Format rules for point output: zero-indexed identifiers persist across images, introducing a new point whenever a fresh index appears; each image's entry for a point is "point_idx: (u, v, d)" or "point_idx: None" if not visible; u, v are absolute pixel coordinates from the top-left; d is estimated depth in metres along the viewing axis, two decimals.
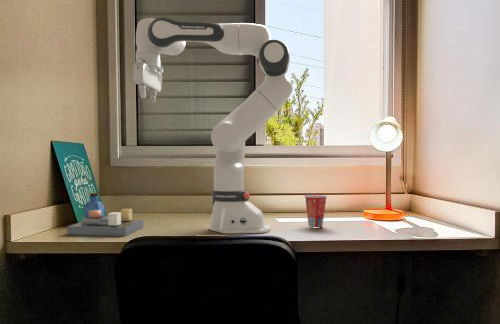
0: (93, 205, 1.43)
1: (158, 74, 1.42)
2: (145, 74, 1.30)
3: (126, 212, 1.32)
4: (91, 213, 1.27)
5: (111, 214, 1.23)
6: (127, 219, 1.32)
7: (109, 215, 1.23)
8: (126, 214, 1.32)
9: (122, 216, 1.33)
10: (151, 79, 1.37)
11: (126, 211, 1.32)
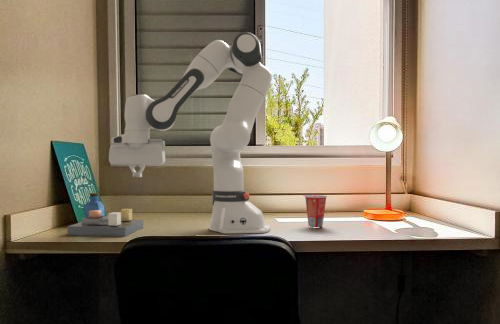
0: (92, 205, 1.43)
1: None
2: None
3: (126, 212, 1.32)
4: (91, 213, 1.27)
5: (111, 214, 1.23)
6: (127, 219, 1.32)
7: (109, 215, 1.23)
8: (126, 214, 1.32)
9: (122, 216, 1.33)
10: None
11: (126, 211, 1.32)
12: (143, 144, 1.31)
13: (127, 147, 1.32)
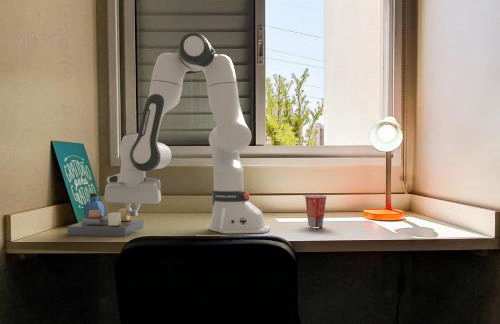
0: (93, 205, 1.43)
1: None
2: None
3: (123, 212, 1.33)
4: (91, 213, 1.27)
5: (111, 214, 1.23)
6: (125, 219, 1.32)
7: (109, 215, 1.23)
8: (124, 214, 1.32)
9: None
10: None
11: (124, 211, 1.32)
12: (139, 183, 1.32)
13: (123, 186, 1.32)
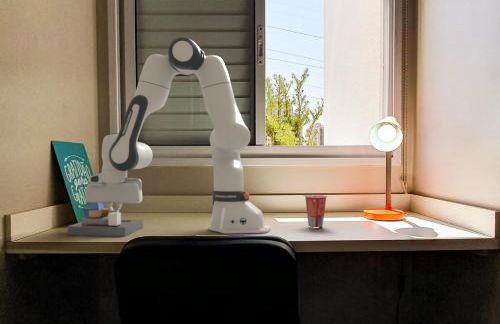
0: (93, 205, 1.43)
1: None
2: None
3: (105, 211, 1.33)
4: (91, 213, 1.27)
5: (111, 214, 1.23)
6: None
7: (109, 215, 1.23)
8: (106, 214, 1.33)
9: None
10: None
11: (105, 211, 1.33)
12: (120, 183, 1.32)
13: (104, 186, 1.33)
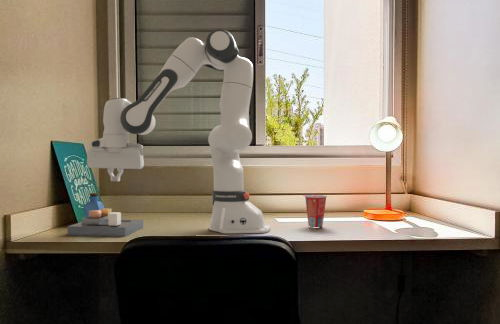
0: (93, 205, 1.43)
1: None
2: None
3: (105, 211, 1.33)
4: (91, 213, 1.27)
5: (111, 214, 1.23)
6: None
7: (109, 215, 1.23)
8: (106, 214, 1.33)
9: None
10: None
11: (105, 211, 1.33)
12: (121, 148, 1.31)
13: (105, 151, 1.31)
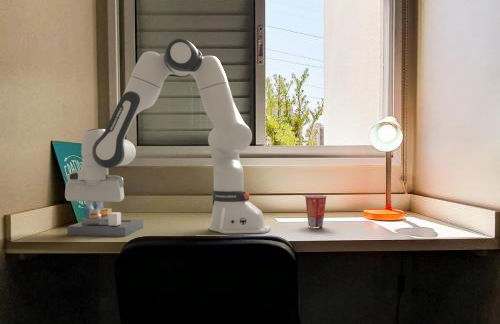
0: (93, 205, 1.43)
1: None
2: None
3: (105, 211, 1.33)
4: (91, 217, 1.27)
5: (111, 214, 1.23)
6: None
7: (109, 215, 1.23)
8: (106, 214, 1.33)
9: None
10: None
11: (105, 211, 1.33)
12: (100, 181, 1.27)
13: (84, 183, 1.27)
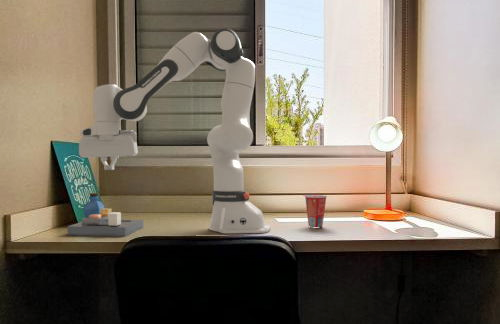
0: (93, 205, 1.43)
1: None
2: None
3: (105, 211, 1.33)
4: (91, 218, 1.27)
5: (111, 214, 1.23)
6: None
7: (109, 215, 1.23)
8: (106, 214, 1.33)
9: None
10: None
11: (105, 211, 1.33)
12: (113, 135, 1.27)
13: (97, 139, 1.28)
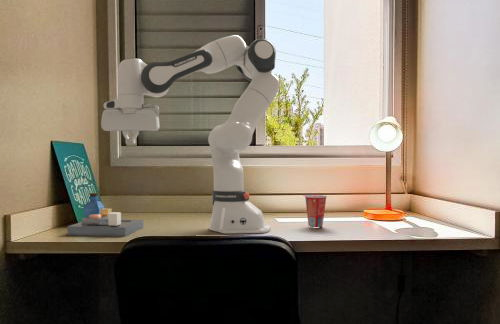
0: (93, 205, 1.43)
1: None
2: None
3: (105, 211, 1.33)
4: (91, 218, 1.27)
5: (111, 214, 1.23)
6: None
7: (109, 215, 1.23)
8: (106, 214, 1.33)
9: None
10: None
11: (105, 211, 1.33)
12: (136, 109, 1.28)
13: (120, 112, 1.28)
